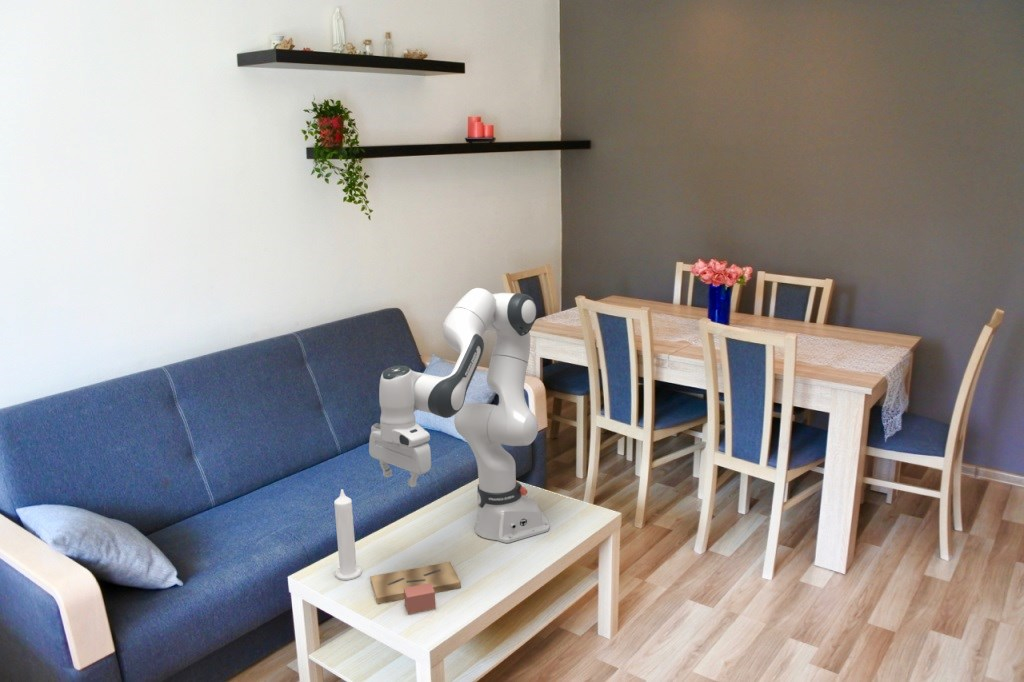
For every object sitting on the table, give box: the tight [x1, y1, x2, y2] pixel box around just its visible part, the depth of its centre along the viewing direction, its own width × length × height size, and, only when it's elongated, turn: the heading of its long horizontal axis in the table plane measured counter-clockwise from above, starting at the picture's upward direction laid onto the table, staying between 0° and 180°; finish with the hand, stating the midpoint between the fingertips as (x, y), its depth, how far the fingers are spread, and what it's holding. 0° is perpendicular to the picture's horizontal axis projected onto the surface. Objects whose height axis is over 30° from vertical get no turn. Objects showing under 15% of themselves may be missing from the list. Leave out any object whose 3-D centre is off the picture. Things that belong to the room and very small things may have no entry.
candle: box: [333, 488, 363, 581], centre depth 218 cm, size 7×7×25 cm
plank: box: [369, 561, 462, 605], centre depth 215 cm, size 22×11×2 cm, turn 108°
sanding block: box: [403, 583, 437, 616], centre depth 205 cm, size 7×4×5 cm, turn 108°
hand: (399, 481), depth 209 cm, fingers open, 8 cm apart
